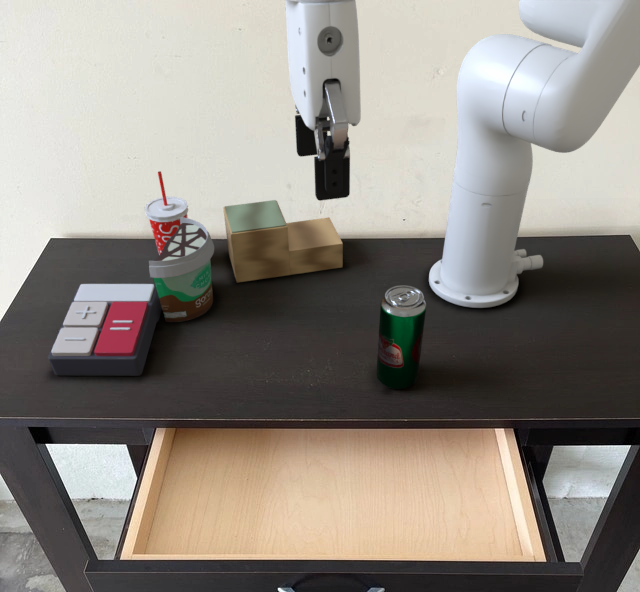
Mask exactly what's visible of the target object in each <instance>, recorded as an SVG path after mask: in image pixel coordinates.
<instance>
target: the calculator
mask: <svg viewBox="0 0 640 592" xmlns="http://www.w3.org/2000/svg"><path fill="white" fill-rule="evenodd" d="M73 295H74V296H73V298H72V300H71V302H70V305H69V307H68V309H67V312H66V314H65V317H64V319H63V321H62V323H61V325H60V328H59V331H58V332H57V335H56V337H55V339H54V341H53V345H52V347H51V349H50V351H49V353H48V356H47V359H48V362H49V363H50V366H51V368H52V371H53V373H54V375H55V376H60V377H61V376H62V377H63V376H65V377H66V376H67V377H68V376H72V377H74V376H76V377H77V376H78V377H79V376H91V377H93V376H94V377H95V376H96V377H98V376H99V377H100V376H101V377H103V376H104V377H107V376H108V377H109V376H110V377H112V376H115V377H137V376H138V377H139V376H141V375H142V374H143V371H144V368H145V364H146V362H147V361H146V360H147V357H148V353H149V350H150V346H151V344H152V339H153V336H154V333H155V329H156V326H157V323H158V322H160V318H161V315H162V312H163V310H162V306H161V303H160V299H159V296H158V293H157V289H156V286H155V283H81V284H79V285H78V286H77V288H76V291H75V293H74V294H73Z"/></svg>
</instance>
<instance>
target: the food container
mask: <svg viewBox="0 0 640 592" xmlns="http://www.w3.org/2000/svg"><path fill="white" fill-rule="evenodd" d="M180 224H181V225H180V226H179V228H178V230H177V231H176V232H175V234H174V235H173V236H172V237H171V238H170V239H169V240H168V241H167V242H166V244H165V246H164V248H163V250H162V252H161V254H160V255H159V254H158V257H157V258H156V260H148V265H149V266H148V271H149V278H152V279H153V282H154V284H155V286H156V289H157V293H158V296H159V299H160V303H161V306H162V313H163V316H164V319H165V322H166V323H179V322H187V321H190V320H193V319H194V320H195V319H196V318H199V317H200V316H203V315H204V314H206V313H207V312H208V311H209V310H210V309H211V307H212V305H213V303H214V295H213V293H214V292H213V280H212V278H213V277H212V265H211V258H212V257H213V255H214V253H215V245H214V242H213V240H212V237H211V235H210V232H209V231H208V229H207V227H205V225H204V224H202V223H201V222H200V221H197V220H195V219H192V218H189V217H188V218H183V217H180Z"/></svg>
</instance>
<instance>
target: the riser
mask: <svg viewBox="0 0 640 592" xmlns="http://www.w3.org/2000/svg"><path fill="white" fill-rule="evenodd" d="M222 209H223V219H224V225H225V227H224V228H225V233H226V241H227V249H228V255H229V260H230V263H231V266H232V270H233V274H234V278H235V282H236V283H244V282H251V281H257V280H263V279H271V278H277V277H285V276H286V277H287V276H292V275H299V274H305V273H313V272H319V271H327V270H332V269H340V268H343V265H344V262H343V258H344V256H343V254H344V253H343V252H344V244H343V241H342V239H341V237H340V235H339V233H338V231H337V229H336V227H335V225H334V224H333V222H332V219H331V217H322V218H315V219H308V220H299V221H291V222H286V219H285V217H284V214H283V212H282V210H281V207H280V205H279V202H278V200H276V199H272V200H264V201H257V202H249V203H248V202H247V203H240V204H233V205H225V206H223V207H222Z"/></svg>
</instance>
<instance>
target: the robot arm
mask: <svg viewBox="0 0 640 592" xmlns="http://www.w3.org/2000/svg"><path fill="white" fill-rule="evenodd" d="M517 6H518V15H519V19H520V21H521V22H522V24H523V25H524V26H525V27H526V28H527V29H528V30H529V31H531V32H532V33H534V34H536V35H538V36H541V37H544V38H545V39H549V40H552V41H555V42H559V43H562V44H565V45H569V46H572V47H577V48H580V50H579V52H576V51H573V50H569V49H565V48H561V47H559V46H558V47H557V46H554V45H552V44H550V43H546V42H544V41H540V40H536V39H532V38H529V37H525V36H521V35H516V34H511V33H497V34H491V35H489V36H486V37H484V38H482V39H480V40H479V41H477V42H476V43H475V44H474V45H473V46H472V47H471V48H470V49H468V51H467V53H466V54H465V56H464V58H463V60H462V62H461V65H460V67H459V70H458V75H457V80H456V90H455V91H456V92H455V93H456V95H455V97H456V113H457V145H456V154H455V163H454V170H453V175H452V176H453V177H452V184H451V191H450V199H449V206H448V212H447V219H446V220H447V221H446V228H445V236H444V243H443V249H442V250H443V251H442V258H441V259H439V260H438V261H436V262H435V263H434V264H433V265H432V266H431V268H430V270H429V274H428V282H429V286H430V288H431V290H432V291H433V292H434V293H435V295H437V296H438V297H439V298H441V299H443V300H445V301H446V302H448V303H451V304H453V305H456V306H459V307H460V306H461V307H464V308H472V309H484V308H485V309H486V308H492V307H493V308H494V307H496V306H500V305H503V304H505V303H507V302H508V301H510V300H511V299H513V297H515V295H516V294H517V292H518V287H519V277H518V275H521V274H522V273H523V271H533V270H539V269H542V268H543V266H544V258H543V256H542V255H541V254H535V255H529V256H527V250H526V249H525V248H521V249H516V245H517V240H518V235H519V232H520V226H521V222H522V217H523V212H524V209H525V203H526V199H527V195H528V191H529V186H530V184H531V183H530V182H531V178H532V174H533V163H534V161H533V156H534V155H533V148H532V145H535V146H537V147H540V148H542V149H545V150H549V151H551V152H554V153H559V154H560V153H561V154H565V153H566V154H567V153H572V152H575V151H577V150H578V149H580V148H582V147H583V146H584V145H586V144H587V143H588V142H589V141H590V140H591V139H592V137H593V136H594V135H595V134H596V132H597V131H598V130H599V129H600V127H601V126H602V124H603V122H604V121H606V118H607V117H608V116H609V114H610V112H611V111H612V109H613V108H614V106H615V104H616V103H617V102H618V100H619V98H620V97H621V95H622V94H623V92H624V90H625V89H626V88H627V86H628V85H629V83H630V81H631V80H632V78H633V77H634V75H635V74H636V72H637V71H638V69H639V67H640V0H518V5H517ZM284 9H285V23H286V24H285V26H286V46H287V48H286V49H287V65H288V75H289V86H290V92H291V96H292V99H293V102H294V106H295V107H294V108H295V115H294V124H295V143H296V145H295V147H296V153H297V156H298V157H309V156H314V157H313V163H314V165H313V166H314V196H315V198H316V200H318V201H329V200H334V199H337V200H338V199H345V198H348V197H349V196H350V193H351V192H350V191H351V149H350V143H351V141H350V137H349V133H348V132H349V125H351V126H352V127H356V126H358V125H359V124H360V122H361V118H362V117H361V115H362V113H361V110H362V109H361V107H362V106H361V65H360V63H361V61H360V60H361V59H360V57H361V56H360V36H359V22H358V10H357V1H356V0H285V8H284ZM328 132H329V134H330V135H328Z"/></svg>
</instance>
